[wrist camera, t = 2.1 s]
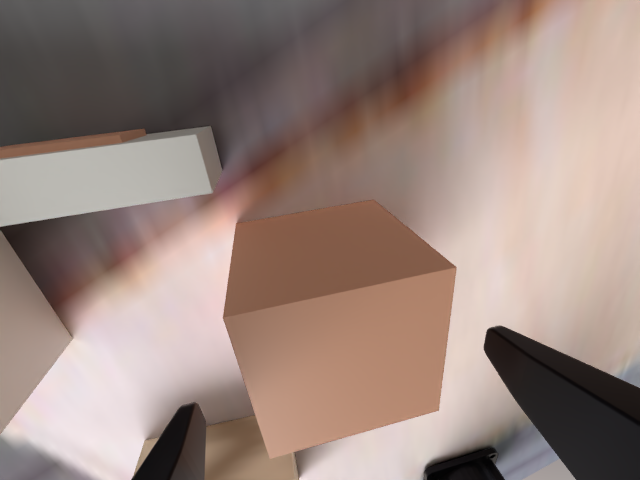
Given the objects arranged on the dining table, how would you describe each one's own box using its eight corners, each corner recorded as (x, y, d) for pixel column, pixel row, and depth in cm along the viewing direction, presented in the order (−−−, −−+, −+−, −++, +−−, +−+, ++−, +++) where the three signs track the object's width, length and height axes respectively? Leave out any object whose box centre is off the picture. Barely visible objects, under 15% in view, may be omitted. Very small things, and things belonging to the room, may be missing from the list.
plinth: (209, 119, 10) (193, 126, 8) (222, 171, 11) (212, 192, 8) (-53, 152, 9) (-179, 173, 6) (-17, 206, 10) (-116, 244, 7)
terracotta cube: (372, 199, 13) (456, 267, 8) (375, 305, 16) (438, 410, 10) (236, 222, 12) (222, 317, 7) (263, 330, 15) (269, 458, 9)
